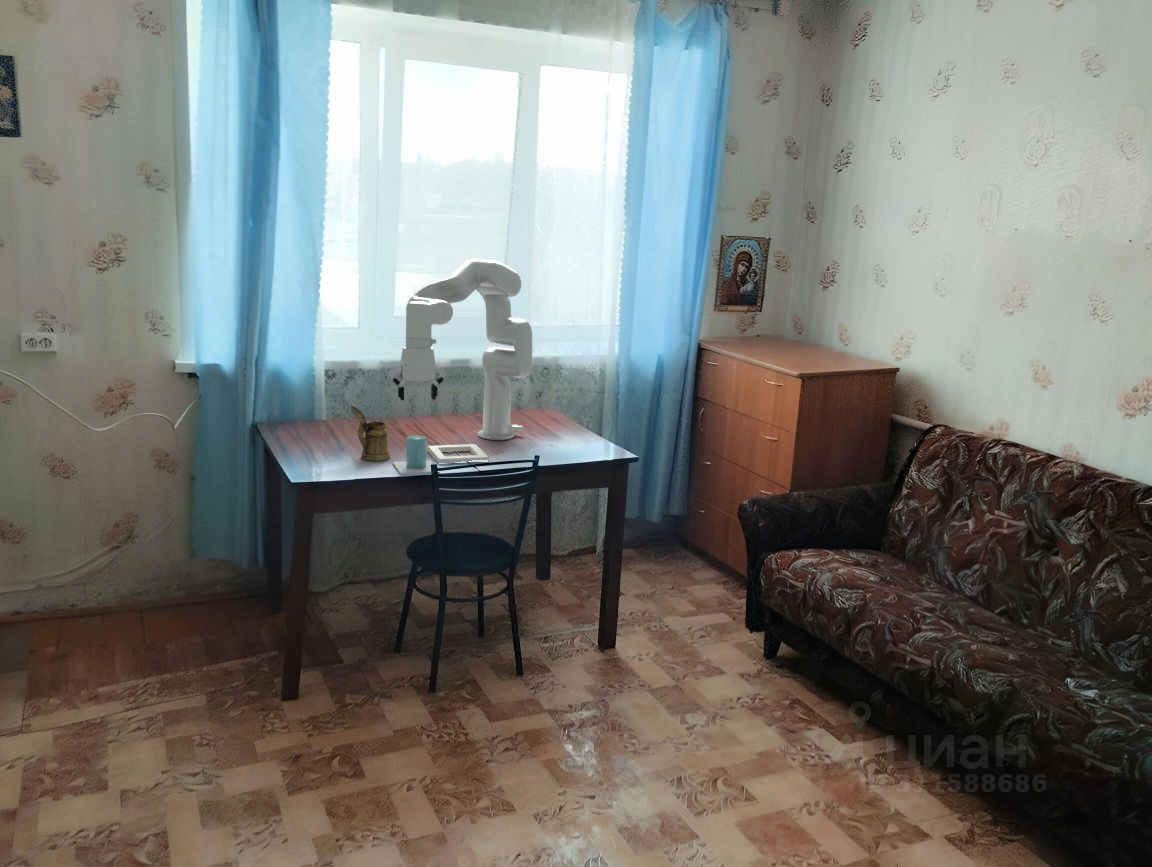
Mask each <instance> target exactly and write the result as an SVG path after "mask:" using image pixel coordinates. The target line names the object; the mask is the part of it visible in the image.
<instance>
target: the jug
mask: <svg viewBox="0 0 1152 867" xmlns="http://www.w3.org/2000/svg"><path fill="white" fill-rule="evenodd" d="M405 443H406V444H405V445H406V446H405V447H406V450H405V451H406V461H405V462H406V467H407V468H410V469H423V468H425V467H426V461H427V437H426V436H423V435H410V436H406V442H405Z"/></svg>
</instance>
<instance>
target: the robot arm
mask: <svg viewBox="0 0 1152 867" xmlns="http://www.w3.org/2000/svg"><path fill="white" fill-rule="evenodd" d="M521 288H522V279H521V277H520V274H519V273H518V272H517V271H516V270H514V269H512V268H511V267H509V266H508V265H506V264H504V263H502V262H500V261H496V260H488V259H481V258H478V259H477V258H471V259H468V260H466V261H465V262H464V263H463V264H462V265H460V267H458V268H457V269H456V271H454V272H453V273H452V274H451V275H449V277H447V278H444V279H441V280H438V281H436V282H433V283H430V284H428V285H425V286H423V287H421V288H420V289H419V290H417V292H415V293H414V294H413V295H412V296H411V297H410V298H409V300H408V302H407V303H406V308H405V346H403V347H402V351H401V355H400V356H401V357H400V366H398V367H396V368H395V369H392V370H391V371H389V372H388V374H389V376H390V378H391V380H392V381H393V383H394V384H395V385H397V397H398V398H399V400H401V401H404V400H405V387H404V385H405V384H406V383H407V382H431V383H432V384H431V387H430V398H431V399H432V400H434V401H435V400H437V399H436V398H437V397H438V389H439V388H438V387H439V386H440V385H441V383H442V382H443V381H444V379H445V377H446V376H447V371H446V370H444V369H442V368H441V367H438V366H436V359H435V350H434V347H433V345H434V344H437V339H436V338H432V327H433V326H432V325H438V326H441V325H442V326H443V325H445V324H448V323H449V322H450V321H451V320H452V318H453V316H454V315H453V314H454V308H453V306H452V304H454V303H461V302H463V301H465V300H466V299H468V298H469V296H471V295H472V293H474V292H475V291H476V292H478V293H479V294H480V296H481V298H482V299H483V301H484V305H485V323H486V324H485V330H486V338H487V340H488V342H490V343H492V344H496V345H501V346H492V347H491V346H490V347H489V348H487V349H485V351H483V355H482V364H481V365H482V370H483V378H484V379H483V381H484V383H483V386H484V387H483V388H484V389H483V410H482V412H483V414H482V415H483V416H482V429H480V430H479V431H478V432H477V436H478V437H480V438H482V439H485V440H490V441H491V440H492V441H505V440H506V441H507V440H511V439H513V438H514V437H515V436H514V435H515V432H523V431H524V426H523V425H518V424H512V423H511V410H512V406H511V405H512V384H511V382H510V379H509V377H510V378H511V377H512V378H516V379H517V378H519V379H523V378H527V377H528V376H529V375H530V374H531V372H532V368H533V367H532V366H533V330H532V327H531V326H532V325H530V323H529V322H528V320H526V319H522V318H515V317H513V316H512V309H511V308H512V305H511V301H510V298H513V297H515V296H517V295H518V294H519V293H520V291H521ZM503 346H509V347H513V348H509V347H503ZM436 373H439V374H440V375H439V377H438V378H436V375H437V374H436ZM397 374H399V375H400V379H399V380H398V378H397V377H396V375H397Z"/></svg>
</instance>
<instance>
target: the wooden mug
mask: <svg viewBox="0 0 1152 867" xmlns="http://www.w3.org/2000/svg"><path fill="white" fill-rule="evenodd" d="M350 412H351V413H352V416H354V417H355V418H356V419H357V420H358V422H359V425H358V430H357V435H358V439H359V442H360V443H361V445H362V452H361V456H360V458H361V459H362V458H363V459H362V460H364V461H368V462H384V461H385V462H386V461H387V460H390V458H391V453H390V451H389V450H390V449H389V444H388V443H389V442H388V433H389V432H388V427H387V425H386V424H387V423H385V422H383V421H370V422H369V421H368V422H367V418H366V417H365V415H364V414H363V412H362V411H360V410H359V408H357V407H356V406H353V405H351V406H350Z"/></svg>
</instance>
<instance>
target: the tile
mask: <svg viewBox="0 0 1152 867" xmlns="http://www.w3.org/2000/svg"><path fill="white" fill-rule="evenodd" d="M432 463H433V464H434V462H433V461H432V460H431V459H429V460H426V467H425V468H423V469H410V468H407V467H406V461H393V462H392V465H393V466H394V467H395V469H396V470H397V472H398V474H399V475H400V476H403V475H404V476H407V475H425V474H426V475H427V474H432V473H431V468H430V465H431V464H432Z"/></svg>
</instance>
